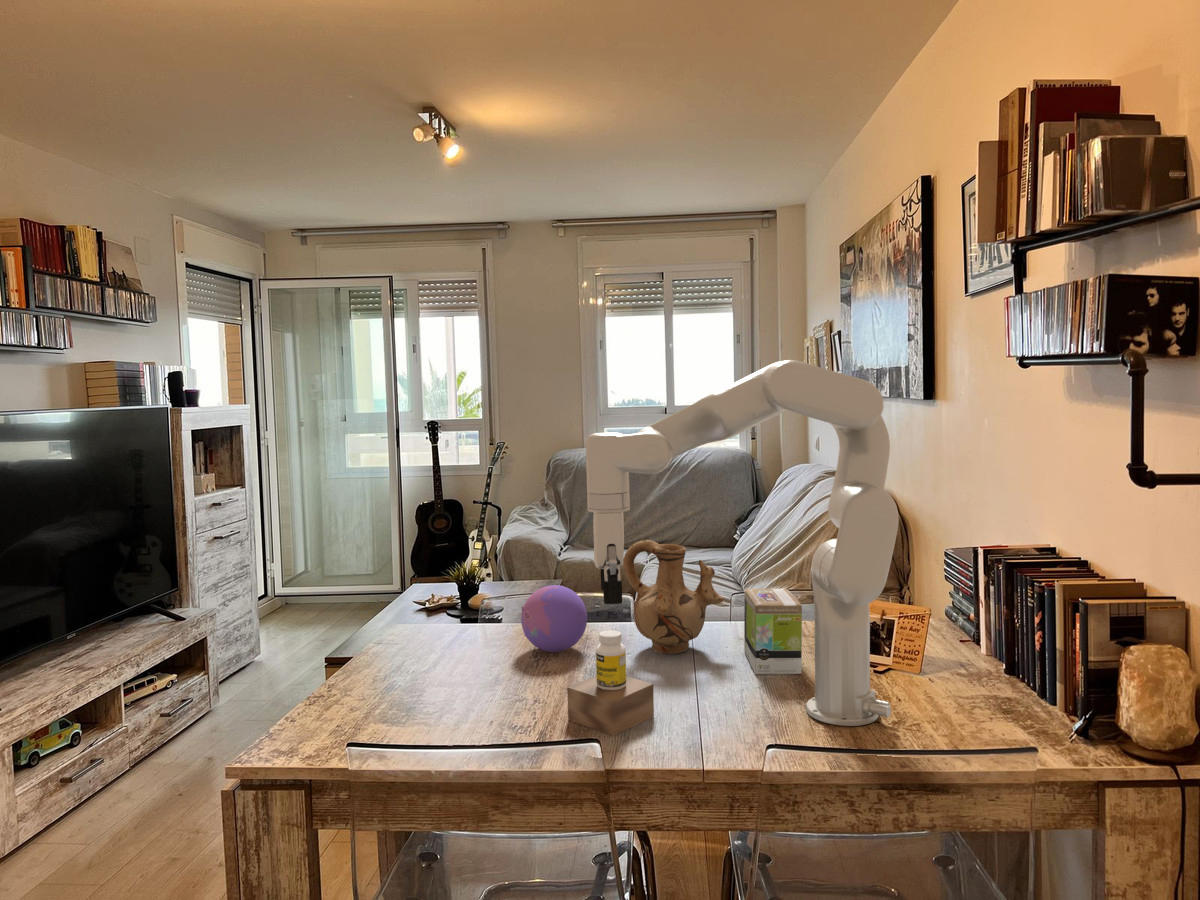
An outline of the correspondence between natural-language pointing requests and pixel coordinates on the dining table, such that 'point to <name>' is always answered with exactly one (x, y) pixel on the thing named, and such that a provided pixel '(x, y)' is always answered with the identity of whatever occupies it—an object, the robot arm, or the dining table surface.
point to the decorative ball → (554, 618)
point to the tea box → (773, 631)
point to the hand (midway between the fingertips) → (611, 596)
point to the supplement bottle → (610, 661)
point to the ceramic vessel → (669, 598)
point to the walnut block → (610, 705)
